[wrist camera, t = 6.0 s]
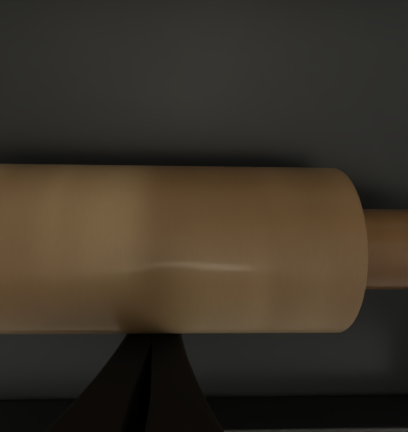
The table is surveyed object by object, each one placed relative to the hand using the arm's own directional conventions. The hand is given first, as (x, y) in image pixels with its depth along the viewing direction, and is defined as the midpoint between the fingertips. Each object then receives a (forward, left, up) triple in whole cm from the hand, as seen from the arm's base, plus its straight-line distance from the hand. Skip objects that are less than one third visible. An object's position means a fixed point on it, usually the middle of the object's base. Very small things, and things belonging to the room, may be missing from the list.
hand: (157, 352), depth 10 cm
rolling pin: (0, -3, 0) cm, 3 cm away
